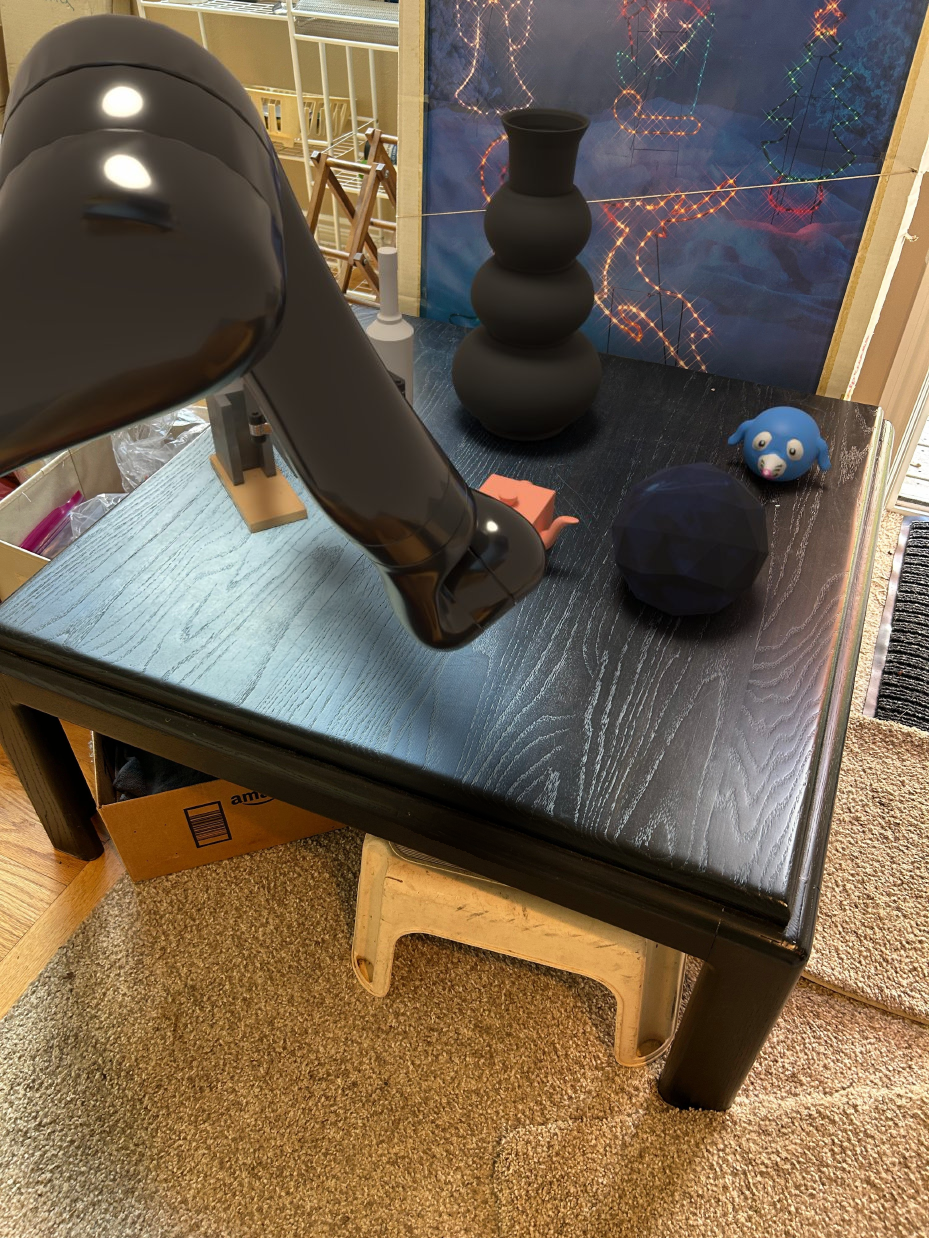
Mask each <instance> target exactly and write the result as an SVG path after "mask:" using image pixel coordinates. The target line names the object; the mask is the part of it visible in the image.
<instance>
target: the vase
mask: <svg viewBox="0 0 929 1238" xmlns="http://www.w3.org/2000/svg"><path fill="white" fill-rule="evenodd" d="M499 120H500V123H501V125H502V127H503V129H504V131H505V133H506V136H507V142H508V180H506V181H505V182H503V184H501V186H500V187H499V188H498V189H497V191H496V192H495V193H494V195H493V196H492V197H491V199H490V200H489V202H488V204H487V206H486V208H485V211H484V216H483V229H484V230H483V231H484V235H485V238H486V240H487V243H488V245H489V246H490V248H491V250H492V252H494V254H493V255H491V256H490V257H489V258H487V260H486V261H484V262H483V263H482V264H481V266H480V267H479V268H478V270H476V273H475V275H474V277H473V278H472V281H471V286H470V294H469V295H470V303H471V307H472V309H473V311H474V314H475V315H476V317H477V319H478V320H479V322H480V324H479V325H477V326H475V327H474V328H472V330H470V332H468V333H467V334H466V335H465V336H464V337H463V339H462V340H461V342H460V343H459V344H458V347H457V348H456V350H455V353H454V356H453V359H452V364H451V378H452V379H451V380H452V381H451V382H452V386H453V389H454V392H455V394H456V396H457V398H458V400H459V402H460V404H461V405H462V406H463V408H464V409H465V410H466V411H467V412H469V414H471V416H473V417H474V418H475V419H477V420H478V421H479V422H480V424H481V425H482V427H483V428H484V429H486V431H488V432H489V433H491V434H492V435H494V436H497V437H499V438H503V439H506V440H510V441H515V442H537V441H544V440H547V439H551V438H553V437H556V436H557V435H558V434H560V433H562V432H563V430H565V428H566V426H568V425H570V424H573V423H575V422H576V421H577V420H579V419H580V418H581V417H582V416H583V415H584V414H585V413H587V411H589V409H590V408H591V406H592V405H593V403H594V402H595V400H596V398H597V397H598V395H599V392H600V388H601V384H602V375H603V374H602V372H603V371H602V364H601V363H602V362H601V359H600V356H599V353H598V351H597V349H596V348H595V346H594V344H593V343H592V341H591V340H590V339H589V337H588V336H587V335H586V334H585V333H584V332H582V331H581V330H580V328H581V327H582V326H583V325H584V323H585V322H586V321H587V320H588V318H589V317H590V316H591V313H592V310H593V309H594V304H595V298H596V297H595V295H596V293H595V286H594V282H593V280H592V277H591V275H590V273H589V272H588V269H586V267H584V265H583V264H582V263H581V262H580V261H579V260H578V259H577V257H578V256H579V255H580V253H581V252H582V251H583V250H584V248H585V247H586V245H587V243H588V241H589V239H590V237H591V233H592V230H593V229H592V228H593V227H592V226H593V220H592V219H593V217H592V212H591V208H590V206H589V203H588V202H587V200H586V198H585V196H584V195H583V194H582V192H581V190H580V188H579V187H578V186H577V185H576V184H574V182H575V181H574V180H575V174H576V173H575V172H576V165H577V160H578V158H577V157H578V154H579V149H580V143H581V140H582V139H583V137H584V136H585V134H586V132H587V130H588V128H589V127H590V126H591V124H592V123H591V122H592V121H591V119H590V118H589V117H588V116H586V115H584V114H581V113H579V112H575V111H572V110H567V109H561V108H552V107H551V108H550V107H526V108H525V107H524V108H518V109H513V110H508V111H506V112H504V113H502V114H501V115H500V119H499Z"/></svg>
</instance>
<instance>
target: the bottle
mask: <svg viewBox="0 0 929 1238" xmlns="http://www.w3.org/2000/svg"><path fill="white" fill-rule="evenodd" d="M376 253H377V270H378V290H379V312H378V313H377V314H376V319H375V320H373V322H371V324H369V325H368V326H367V327H366V331H365V333H366V335H367V337H368V338H369V340H370V342H371V344H372V345H373V347H374V349H375V350H376V352H377V353H378V355H379V357H380V358H381V360H382V362H383V363H384V365H385V366H386V368H387V370H389V371H391V372H392V373H394V374H396V375H397V376H399V377H401V378H402V379H404V380H405V391H406V399H407V400H408V402H409V403H410V405H411V406H412V408H413V409H414V356H415V355H414V348H415V347H414V346H415V345H414V344H415V343H414V342H415V341H414V340H415V338H414V336H415V335H414V330H415V329H414V327H413V326H412V325H411V324H410V323H409V322H407V321H406V320H405V319H404V318H403V314H402V313H401V312H400V311H399V284H398V281H399V280H398V279H399V277H398V276H399V275H398V270H399V265H398V263H399V261H398V259H399V258H398V249H397V247H393V246H382V247H379V248H378V249H377V250H376Z"/></svg>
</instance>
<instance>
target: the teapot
mask: <svg viewBox="0 0 929 1238" xmlns="http://www.w3.org/2000/svg"><path fill="white" fill-rule="evenodd" d="M477 490H478V491H480V492H483V493H485V494H487V495H490V496H492V497H494V498H496V499H498V500H500V501H502V502H504V503H505V504H507V505H509V506H510V507H512V508H514V509H515V510H516V511H518V512H519V513H520V514H522V515H523V516H524V517H525V518H526V519H527V520H528V521H529V522H530V523H531V524H532V525H533V526H534V527H535V529H536V530H537V531H538V533H539V534H540V536H541V538H542V540H543V542H544V545H545V548H546V551H548V549H550V548H551V547H552V546H553V545H554V543H555V542H556V540H557V538H558V536H559V534H560V533H561V531H562V530H563V528H564V527H566V526H568V525H572V524H577V523H579V522H580V521H579V519H578V518H576V517H575V516H574V517H573V516H569V515H562V516H558V517H557V518H555V519H554V512H555V501H556V495H557V492H556V490H553V489H549V488H545V487H542V486H538V485H534V484H533V483H532V482H531V481H529V480H527V479H522V480H518V479H514V478H510V477H507V476H503V475H499V474H495V473H492V474H490V476H489V477H488V478H487V479H486V480H485V482H484V483H483V484H482V485H481V487H480V488H478V489H477ZM553 519H554V520H553Z"/></svg>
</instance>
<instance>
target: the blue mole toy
mask: <svg viewBox="0 0 929 1238" xmlns="http://www.w3.org/2000/svg"><path fill="white" fill-rule="evenodd" d="M742 441H744V442H743V447H742V449H743V457H744V460H745V462H746V464H747V466H748V468H749V469H750V470H751V471H752V472H753V473H755V474H756V475H757V476H758V477H761V478H763V479H764V480H768V481H770V482H771V481H772V482H789V481H792V480H795V479H798V478H800V477H801V476H803V475H804V474H806V472H808V471H809V470H810V469H811V468H812V467H813V465H814V464H815V462H817V466H818V468H819V469H820V470H821V471H822V472H828V471H829V470H830V469H831V466H832V464H831V461H830V458H829V447H828V444H827V442H826V440H824V439H823V438H822V437H821V432H820V429H819V427H818V424H817V422H816V421H815V419H814V418H813V417H812V416H811V415H810V414H808V413H807V412H806V411H804V410H802V409H799V408H798V407H797V408H796V407H792V406H775V407H771V408H768V409H766V410H764V411H762V412H761V413H760V414H758V415H757V416H756V417H755V418H753V419H750V420H749V419H748V420H745V421H744V422H742V423H741V424H740V425H738V428H737V429H736V431H735V432H734V433H733V434H732V435H730V436H729V437H728V441H727V445H729V446H730V447H735V446H737V445H739V444H740V443H741V442H742Z"/></svg>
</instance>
